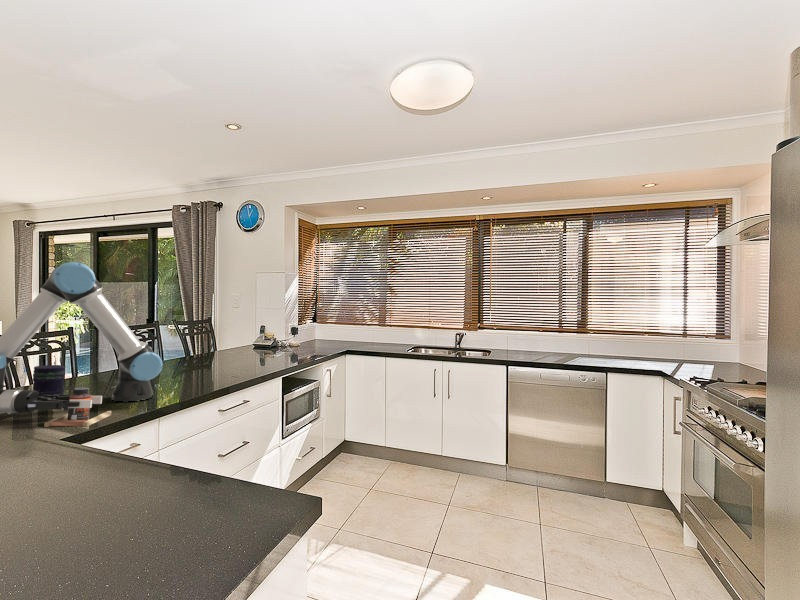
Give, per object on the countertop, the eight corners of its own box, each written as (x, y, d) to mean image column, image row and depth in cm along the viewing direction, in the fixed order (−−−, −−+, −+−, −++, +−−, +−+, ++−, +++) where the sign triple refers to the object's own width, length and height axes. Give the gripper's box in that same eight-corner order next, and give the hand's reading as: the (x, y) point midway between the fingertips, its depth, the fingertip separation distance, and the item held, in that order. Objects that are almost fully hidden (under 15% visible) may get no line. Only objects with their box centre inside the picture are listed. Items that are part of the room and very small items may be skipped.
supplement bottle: (76, 423, 136) (79, 390, 137) (62, 422, 137) (65, 389, 138) (93, 419, 142) (95, 387, 142) (79, 417, 143) (82, 386, 144)
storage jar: (47, 407, 155) (51, 368, 156) (23, 405, 156) (26, 367, 156) (69, 401, 165) (72, 365, 166) (46, 400, 166) (49, 364, 166)
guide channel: (73, 414, 147) (73, 411, 147) (111, 414, 149) (111, 411, 149) (44, 426, 131) (44, 422, 131) (86, 426, 134) (87, 422, 134)
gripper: (38, 406, 146) (109, 406, 150) (-3, 419, 127) (79, 419, 132) (40, 385, 146) (111, 386, 150) (-1, 395, 127) (81, 396, 132)
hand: (96, 401), depth 141 cm, fingers closed on supplement bottle, 6 cm apart
